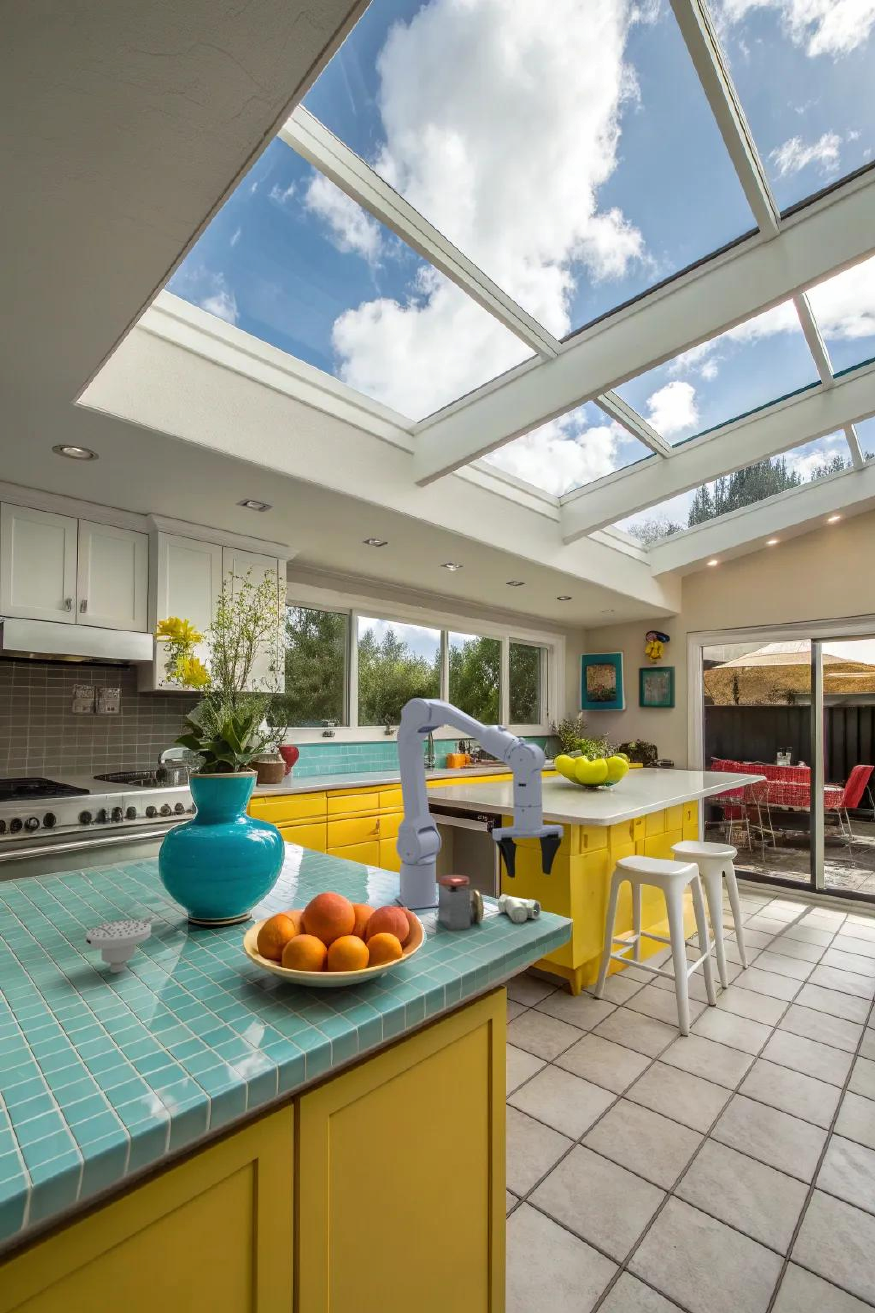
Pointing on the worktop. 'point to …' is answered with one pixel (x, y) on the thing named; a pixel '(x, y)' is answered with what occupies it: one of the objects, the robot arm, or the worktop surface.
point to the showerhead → (119, 940)
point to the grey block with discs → (458, 903)
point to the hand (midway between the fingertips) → (529, 875)
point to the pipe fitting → (519, 908)
